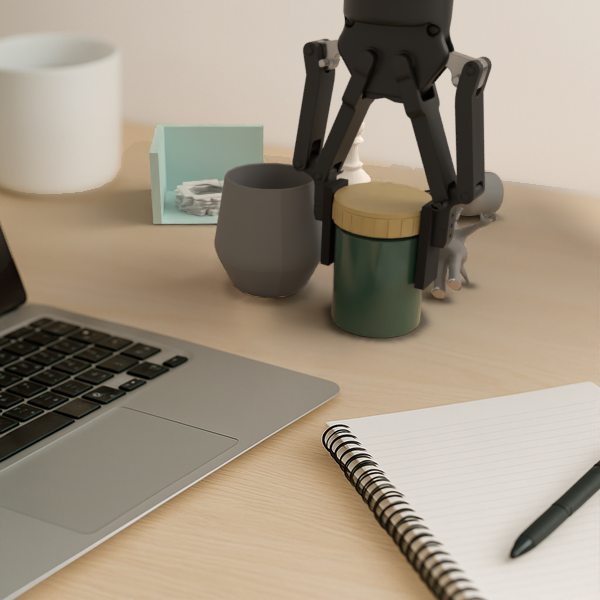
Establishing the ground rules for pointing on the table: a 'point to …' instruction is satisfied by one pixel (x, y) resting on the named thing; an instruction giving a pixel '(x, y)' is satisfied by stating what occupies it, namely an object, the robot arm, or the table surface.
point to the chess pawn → (354, 163)
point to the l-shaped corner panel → (197, 167)
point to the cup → (268, 229)
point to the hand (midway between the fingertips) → (377, 270)
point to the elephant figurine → (456, 256)
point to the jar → (375, 285)
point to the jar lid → (379, 209)
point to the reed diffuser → (485, 197)
